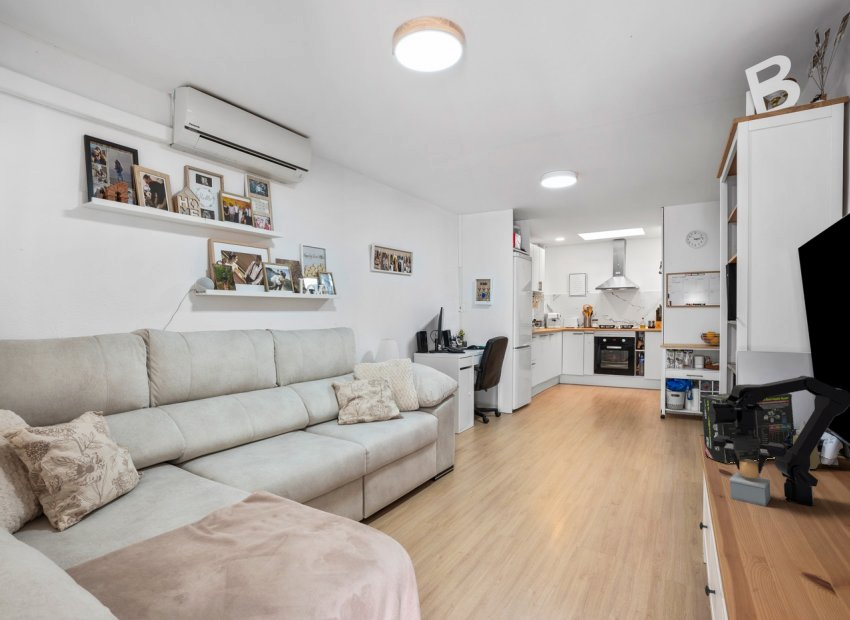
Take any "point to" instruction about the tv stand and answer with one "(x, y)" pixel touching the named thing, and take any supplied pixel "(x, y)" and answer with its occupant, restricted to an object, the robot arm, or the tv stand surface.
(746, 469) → the tan cylinder grey end
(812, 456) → the squeeze bottle
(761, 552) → the tv stand surface
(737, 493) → the box
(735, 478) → the box lid
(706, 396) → the router box
